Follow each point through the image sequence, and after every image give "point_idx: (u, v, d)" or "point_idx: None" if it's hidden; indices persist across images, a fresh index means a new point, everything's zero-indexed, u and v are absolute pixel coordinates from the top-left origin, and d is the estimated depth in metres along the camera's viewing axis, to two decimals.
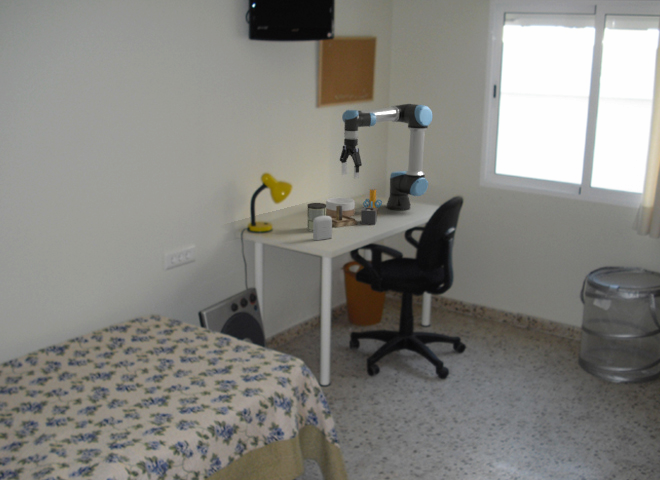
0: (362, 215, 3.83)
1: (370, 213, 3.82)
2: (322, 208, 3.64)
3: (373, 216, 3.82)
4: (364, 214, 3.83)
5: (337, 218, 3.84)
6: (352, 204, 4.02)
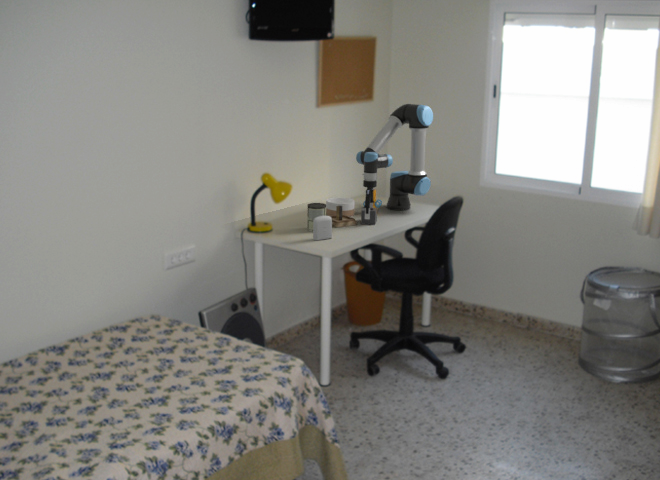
0: (362, 215, 3.83)
1: (370, 213, 3.82)
2: (322, 208, 3.64)
3: (373, 216, 3.82)
4: (364, 214, 3.83)
5: (337, 218, 3.84)
6: (352, 204, 4.02)
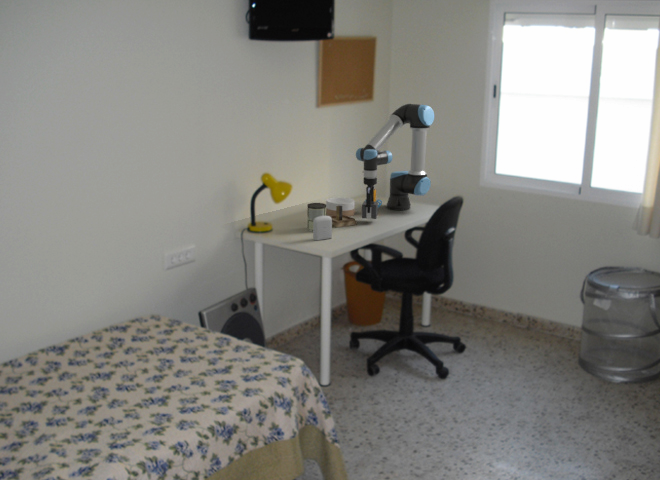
0: (363, 209, 3.82)
1: None
2: (322, 208, 3.64)
3: (374, 210, 3.81)
4: (365, 208, 3.82)
5: (337, 218, 3.84)
6: (352, 204, 4.02)
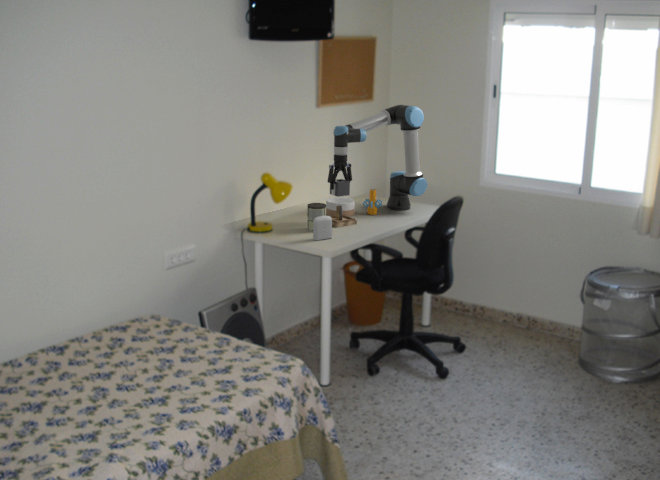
0: (330, 185, 3.80)
1: (335, 184, 3.76)
2: (322, 208, 3.64)
3: (337, 187, 3.75)
4: None
5: (337, 218, 3.84)
6: (352, 204, 4.02)
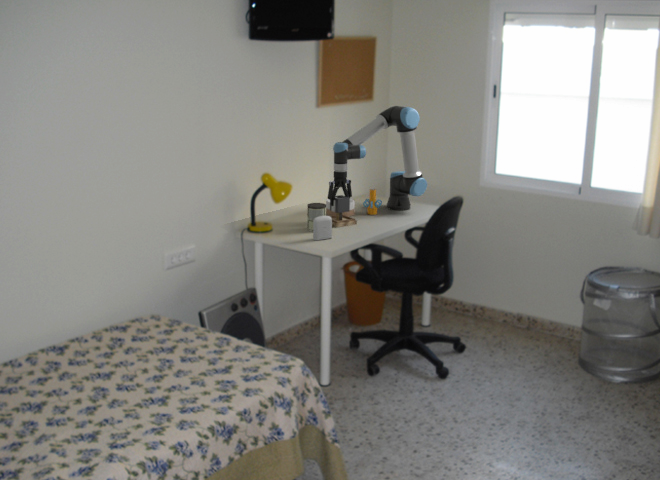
0: (330, 201, 3.83)
1: (335, 200, 3.79)
2: (322, 208, 3.64)
3: (337, 204, 3.78)
4: None
5: (337, 218, 3.84)
6: (352, 204, 4.02)
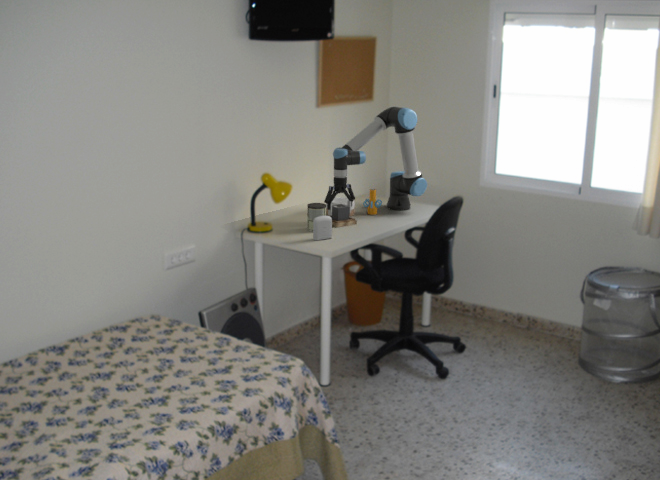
0: None
1: (335, 209, 3.80)
2: (322, 208, 3.64)
3: (337, 213, 3.79)
4: None
5: None
6: (352, 204, 4.02)
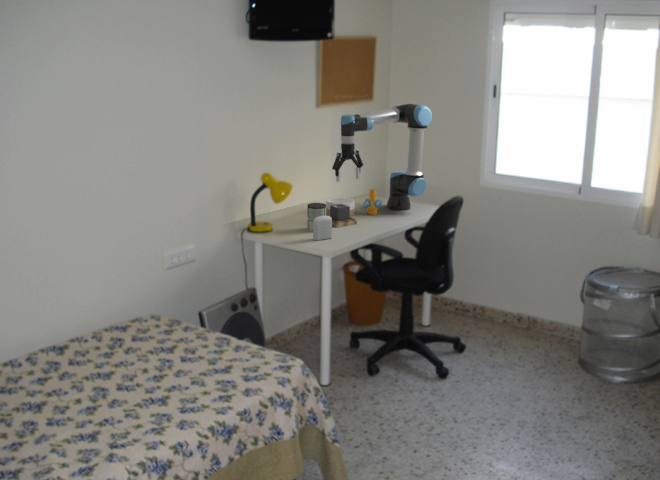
0: (330, 210, 3.84)
1: (335, 209, 3.80)
2: (322, 208, 3.64)
3: (337, 213, 3.79)
4: (331, 210, 3.83)
5: None
6: (352, 204, 4.02)
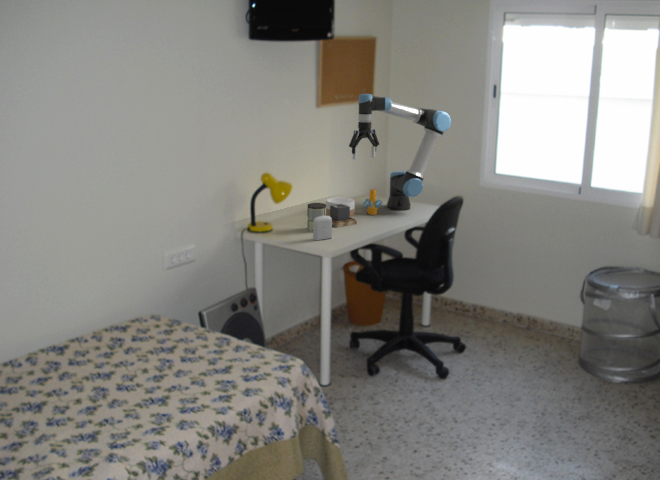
0: (330, 210, 3.84)
1: (335, 209, 3.80)
2: (322, 208, 3.64)
3: (337, 213, 3.79)
4: (331, 210, 3.83)
5: None
6: (352, 204, 4.02)
